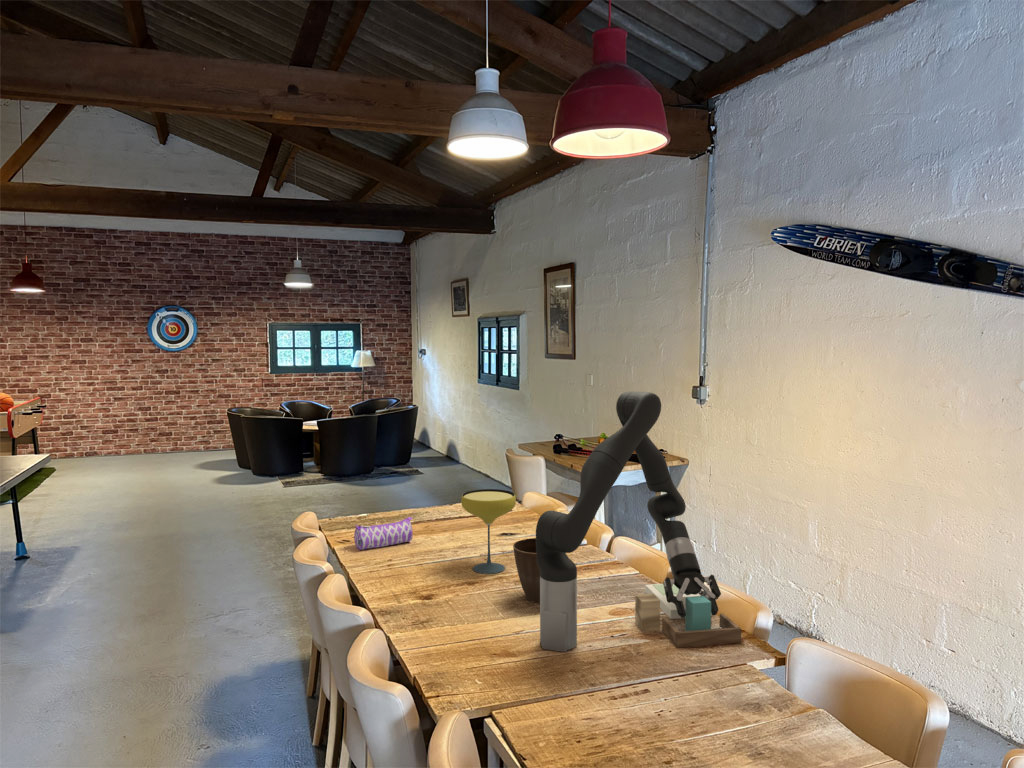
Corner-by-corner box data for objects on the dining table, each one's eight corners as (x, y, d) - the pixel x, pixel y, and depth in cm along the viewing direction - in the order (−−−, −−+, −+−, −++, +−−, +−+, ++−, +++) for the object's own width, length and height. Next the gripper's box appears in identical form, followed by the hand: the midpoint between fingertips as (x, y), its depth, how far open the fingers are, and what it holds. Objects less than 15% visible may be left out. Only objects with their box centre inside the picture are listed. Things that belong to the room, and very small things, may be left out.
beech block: (659, 630, 183) (660, 600, 183) (641, 631, 183) (641, 601, 182) (652, 622, 188) (653, 593, 188) (635, 623, 188) (635, 594, 187)
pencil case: (358, 553, 251) (358, 527, 250) (350, 547, 259) (349, 522, 258) (415, 544, 262) (415, 519, 262) (406, 538, 270) (405, 514, 269)
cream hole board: (712, 616, 192) (712, 606, 192) (670, 619, 191) (670, 609, 190) (683, 590, 212) (683, 581, 212) (645, 592, 210) (645, 584, 210)
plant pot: (560, 609, 197) (560, 554, 196) (508, 606, 200) (508, 551, 199) (566, 591, 212) (566, 539, 211) (518, 587, 215) (518, 536, 214)
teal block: (710, 636, 179) (711, 602, 179) (692, 637, 179) (692, 603, 178) (703, 629, 184) (703, 595, 183) (685, 630, 183) (685, 597, 183)
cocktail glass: (518, 560, 241) (518, 489, 240) (513, 578, 223) (512, 501, 222) (466, 559, 243) (466, 488, 241) (457, 577, 225) (456, 500, 224)
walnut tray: (741, 642, 176) (741, 628, 176) (677, 647, 173) (677, 633, 173) (723, 626, 186) (723, 613, 185) (662, 630, 183) (662, 617, 183)
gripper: (661, 553, 187) (677, 611, 176) (711, 550, 189) (730, 607, 178) (653, 566, 192) (669, 623, 182) (702, 563, 195) (720, 619, 184)
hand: (699, 615), depth 180 cm, fingers open, 8 cm apart
